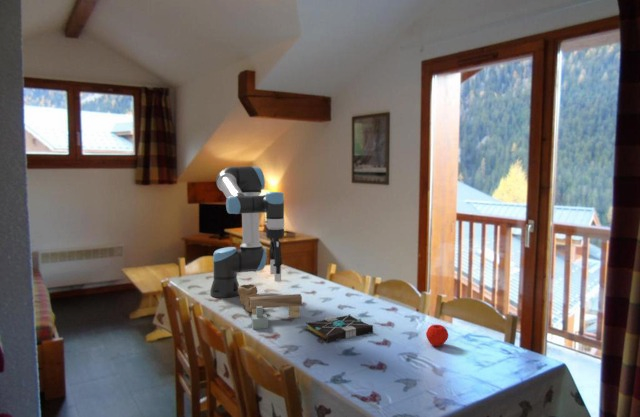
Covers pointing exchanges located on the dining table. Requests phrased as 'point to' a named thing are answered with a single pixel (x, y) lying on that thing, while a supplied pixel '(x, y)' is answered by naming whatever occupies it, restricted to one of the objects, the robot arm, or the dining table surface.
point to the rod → (276, 301)
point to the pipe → (247, 294)
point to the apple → (437, 335)
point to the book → (339, 328)
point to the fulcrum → (259, 319)
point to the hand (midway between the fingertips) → (275, 277)
